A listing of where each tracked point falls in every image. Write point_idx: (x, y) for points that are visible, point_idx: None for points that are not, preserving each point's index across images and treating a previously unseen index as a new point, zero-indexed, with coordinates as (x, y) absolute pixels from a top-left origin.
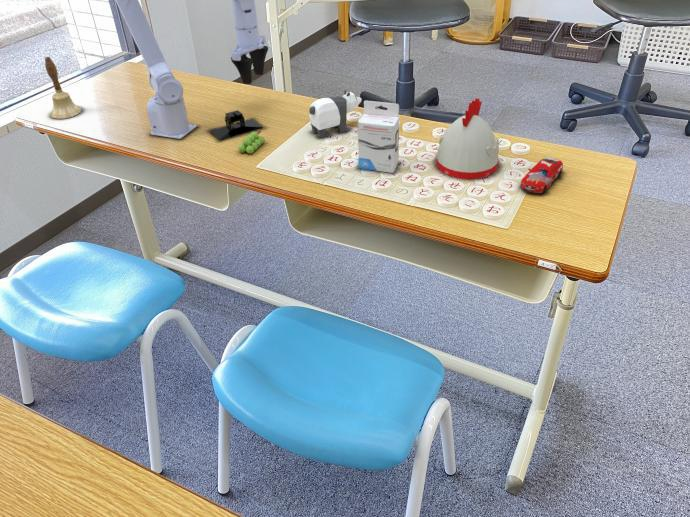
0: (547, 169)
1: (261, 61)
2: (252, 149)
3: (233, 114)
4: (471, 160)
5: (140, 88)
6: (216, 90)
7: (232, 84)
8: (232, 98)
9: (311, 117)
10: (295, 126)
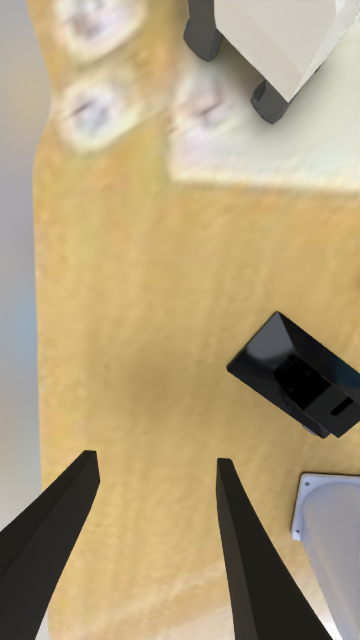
0: None
1: (30, 549)
2: None
3: (345, 409)
4: None
5: (142, 628)
6: (93, 512)
7: None
8: (119, 464)
9: (336, 38)
10: (241, 214)
